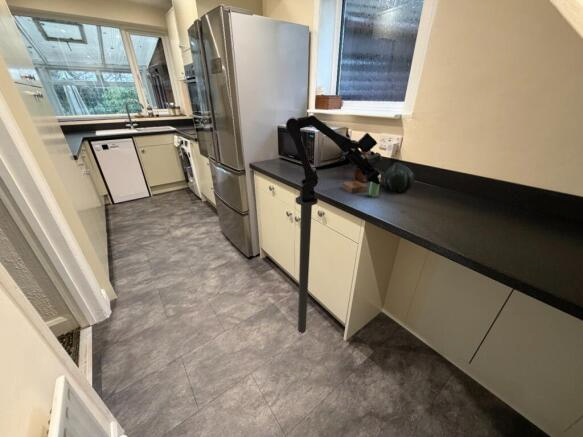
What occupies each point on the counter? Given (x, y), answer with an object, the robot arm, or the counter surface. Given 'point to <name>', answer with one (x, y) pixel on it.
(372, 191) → the peg doll
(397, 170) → the squash
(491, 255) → the counter surface
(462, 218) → the counter surface
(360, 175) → the wooden figurine
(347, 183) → the walnut block
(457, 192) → the counter surface
